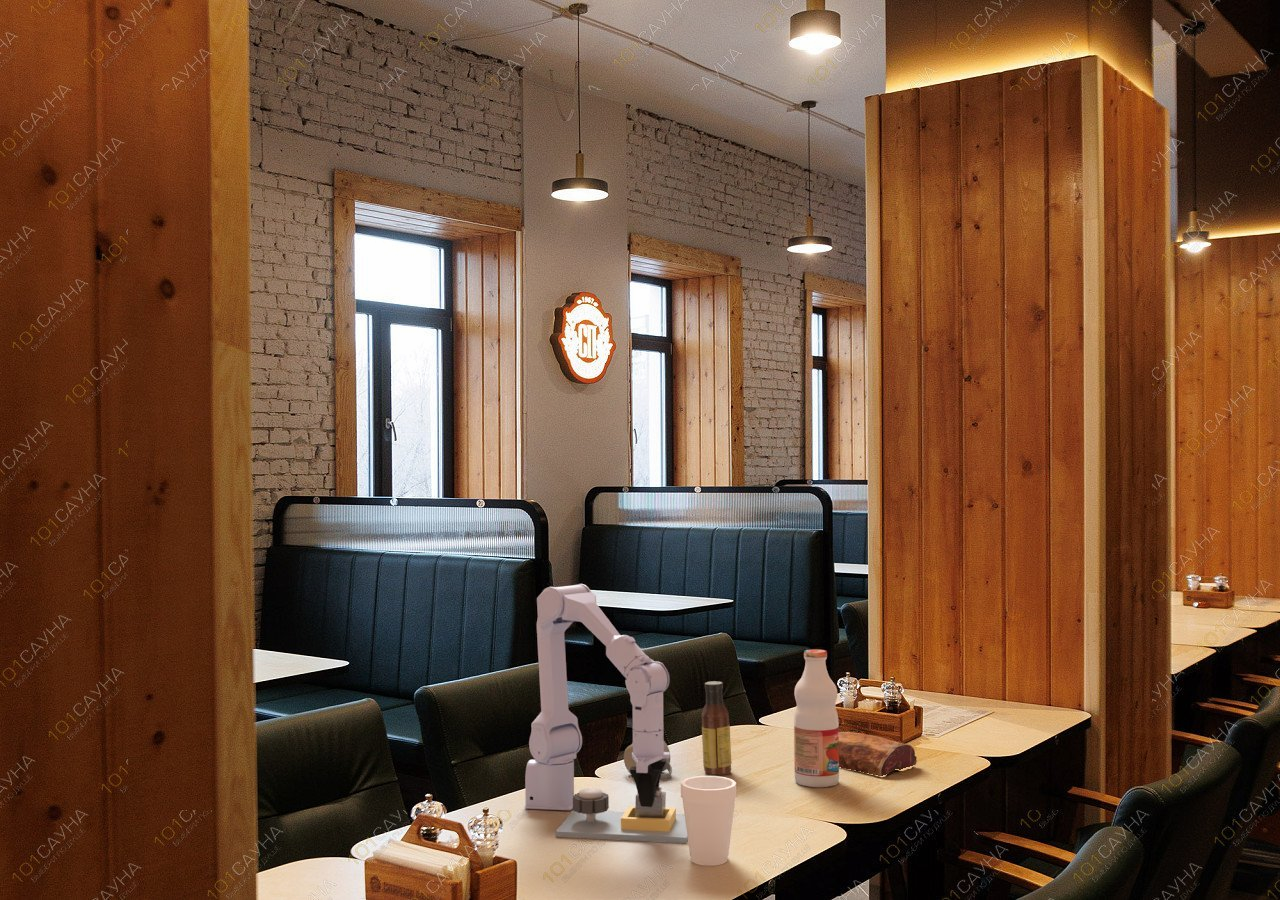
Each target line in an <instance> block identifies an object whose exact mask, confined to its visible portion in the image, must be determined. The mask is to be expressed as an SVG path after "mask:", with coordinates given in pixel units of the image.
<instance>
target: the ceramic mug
mask: <svg viewBox="0 0 1280 900" xmlns="http://www.w3.org/2000/svg"><path fill="white" fill-rule="evenodd" d="M632 752H633V743H631V744H630V745H628V746H627V747H626V748H625V749H624V753H623V763H624V766H625V768H626V770H627V772H628V773H630V768H631V767H636V762H635V761H634V759H633V758H632ZM664 752H669V753H670V754H671V751H670V749H669V746H668V743H666V742H665V740H664ZM663 759H666V764H665V766H664V768H663V771H662V772H664V771H667V773H662V774H661V778H660V781H664V780H665V779H666V780H668V779H670V778H671V776H672V772H673V768H672V765H671V756H670V757H669V758H663ZM630 775H631V773H630ZM666 780H665V781H666Z"/></svg>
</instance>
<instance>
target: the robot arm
mask: <svg viewBox="0 0 1280 900" xmlns="http://www.w3.org/2000/svg"><path fill="white" fill-rule="evenodd" d="M536 606H537V621H536V634H537V635H536V637H537V656H538V657H537V658H538V671H539V672H538V673H539V674H538V675H539V677H538V678H539V689H540V690H539V693H540V709H541V710H540V712H539V713H538V715H537V716H536V718H535V719H534V720H533V721H532V722H531V725H530V726H531V732H530V735H529V741H528V745H529V752H530V754H531V756H532V757H533V759H529V760H528V761H527V763H526V768H525V777H524V779H525V780H524V781H525V784H524V785H525V786H524V787H525V788H524V789H525V793H524V794H525V795H524V796H525V799H524V800H525V805H524V809H527V810H529V809H530V810H552V811H571V810H572V811H573V796H574V795H575V759H577V754H578V753H579V752H580V750H581V748H582V745H583V736H582V732H581V730H580V727H579V721H578V720H579V719H578V717H577V716H576V715H575V714H574V713H573V712H571V710H569V697H568V696H569V693H568V692H569V691H568V677H567V662H566V661H567V660H566V657H567V656H566V640H565V632H566V630H567V629H569V628H570V626H571V625H572V624H573V623H574V622H579V623H582V624H583V625H584V626H585V628H587V629H588V631H590V632H591V633H592V634H593V635H594V636H595V637H596V638H597V639H598V640H599V641H600V642H601V643H602V644H603V645H604V646H605V656H606V657H607V658H608V659H609V661H610V662H611V663H612V664H613V666H615V668H617V670H618V671H619V672H620V673H621V675H622V676H623V677H624V678H625V680H624V681H625V682H624V683H625V686H626V690H627V692H628V694H629V696H630V697H629V698H630V700H629V701H630V703H631V705H632V744H633V752H632V758H633V759H634V761H635V762H636V767H631V768H630V773H631V774H630V776H631V777H632V779H633V781H634V783H635V784H634V785H635V787H636V790H637V793H638V796H639V801H640V805H641V806H643V807H652V805H653V801H654V795H655V787H660V783H661V780H660V778H661V774H663V772H664V771H663V768H664V766H665V764H666V759H663V758H669V757H670V758H671V752H670V753H669V752H664V741H665V740H664V692H665V691H666V690H667V689H668V688H669V685H670V673H669V672H668V671H669V670H668V669H667V668H666V666H665V664H664V663H663V662H660V661H656V660H655V661H654V659H653V658H651V657H649V655H647V654H646V653H645V652H644V650H642V649H641V648H640V646H638V644H637V643H636V640H635V638H634V637H633V636H630V635H627V634H622V635H621V634H620V633H619V631H618V630H617V629H616V627H615V626H614V625H613V624H612V622H611V621H610V619H609V618H608V617H607V616H606V614H605V613H604V612H603V610H602V609H601V608H600V607H599V605H598V604H597V596H596V595H595V594H594V593H593V592H592V591H591V589H590V588H589V586H587V585H586V584H583V583H578V584H573V585H565V586H549V587H546V588H544V589H543V590H542V592H541V593H540V594H539V595H538V596H537V597H536Z"/></svg>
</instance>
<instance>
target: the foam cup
mask: <svg viewBox="0 0 1280 900" xmlns="http://www.w3.org/2000/svg"><path fill="white" fill-rule="evenodd" d="M737 795H738V794H737V782H736V781H735V780H734V779H732V778H729V777H724V776H720V775H698V776H691V777H687V778H685V779H683V780H682V781H681V782H680V797H681V798H682V799H681V800H682V806H683V807H682V808H683V813H684V815H685V822H686V829H687V837H688V841H687V844H688V850H689V856H690V861H692V863H694V864H696V865H700V866H710V867H711V866H713V867H714V866H719V865H723V864H725V863H727V861H729V860H728V859H729V854H730V845H731V837H732V836H731V835H732V827H733V820H734V810H735V802H736V798H737Z"/></svg>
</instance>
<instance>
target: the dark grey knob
mask: <svg viewBox="0 0 1280 900" xmlns="http://www.w3.org/2000/svg"><path fill="white" fill-rule="evenodd" d="M609 797H610V796H609V794H607V793H605V792H603V790H602V789H597V788H584V789H580V790H579V791H578V792H577V793H574V796H573V808H572V811H575V812H578V813H582V814H593V813H595V814H598V813H602V812H605V811H609V808H610V805H609Z"/></svg>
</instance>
